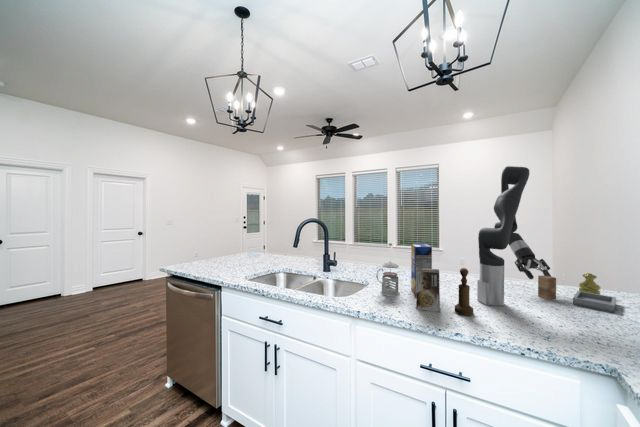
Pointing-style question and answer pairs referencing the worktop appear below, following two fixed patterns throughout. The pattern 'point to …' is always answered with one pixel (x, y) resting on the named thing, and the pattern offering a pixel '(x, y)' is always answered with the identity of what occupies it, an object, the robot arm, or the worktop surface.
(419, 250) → the juice carton
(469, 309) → the brown chess piece
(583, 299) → the parts tray
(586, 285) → the olive green lumpy figure
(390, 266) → the french press
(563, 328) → the worktop surface
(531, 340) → the worktop surface
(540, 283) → the block
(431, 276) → the coffee box
